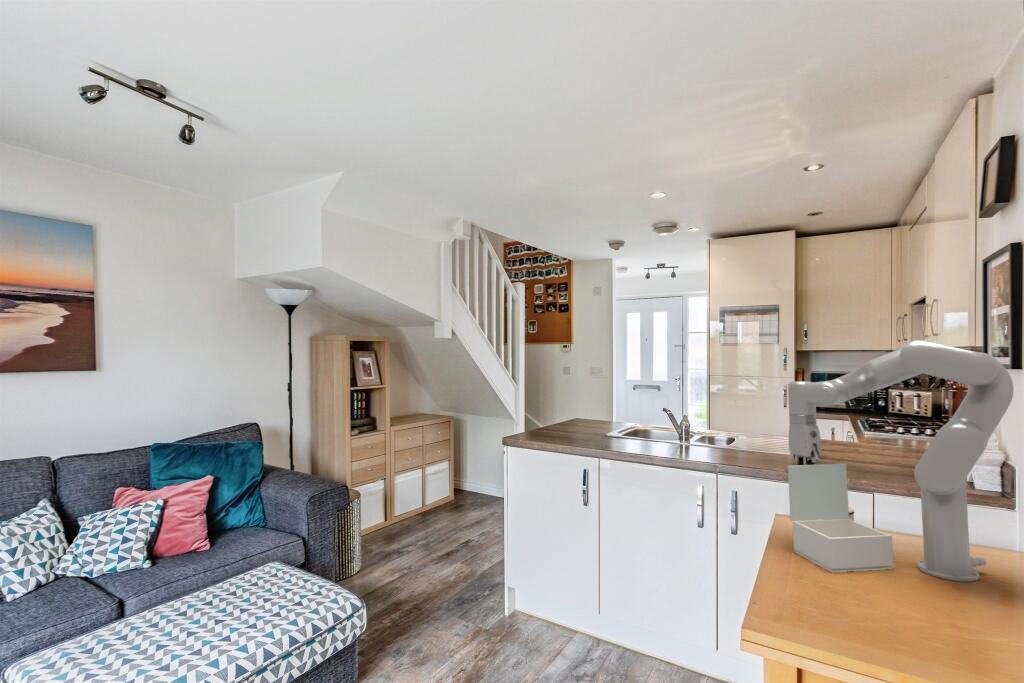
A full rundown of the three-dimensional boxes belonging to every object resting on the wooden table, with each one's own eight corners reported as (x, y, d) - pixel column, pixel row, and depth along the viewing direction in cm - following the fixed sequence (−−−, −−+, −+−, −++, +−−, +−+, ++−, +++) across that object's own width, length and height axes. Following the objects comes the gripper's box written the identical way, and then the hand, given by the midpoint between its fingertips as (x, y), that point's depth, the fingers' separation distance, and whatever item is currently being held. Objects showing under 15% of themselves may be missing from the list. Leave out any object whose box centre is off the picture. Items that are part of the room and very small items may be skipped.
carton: (849, 548, 156) (848, 518, 156) (893, 569, 140) (891, 535, 140) (794, 551, 154) (792, 521, 155) (831, 572, 138) (830, 538, 139)
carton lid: (848, 518, 156) (832, 512, 163) (846, 464, 157) (829, 460, 164) (792, 521, 154) (777, 514, 161) (789, 466, 155) (775, 462, 162)
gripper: (831, 422, 155) (834, 483, 154) (797, 417, 171) (799, 472, 170) (808, 423, 155) (811, 484, 154) (776, 417, 170) (778, 473, 170)
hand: (805, 478), depth 162 cm, fingers closed on carton lid, 2 cm apart
